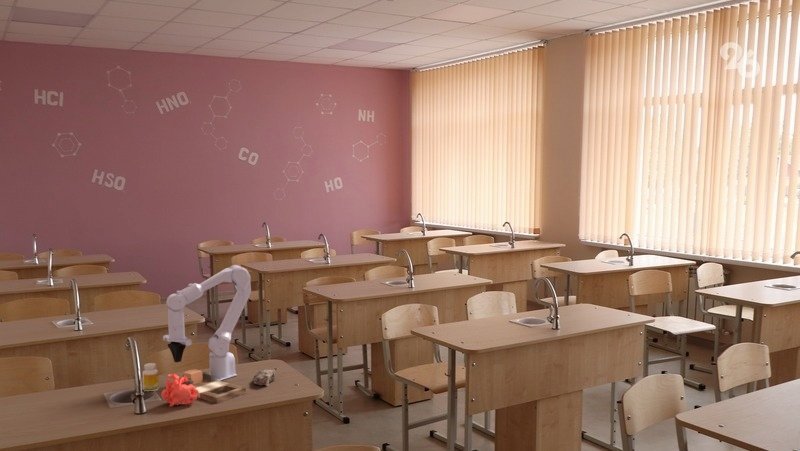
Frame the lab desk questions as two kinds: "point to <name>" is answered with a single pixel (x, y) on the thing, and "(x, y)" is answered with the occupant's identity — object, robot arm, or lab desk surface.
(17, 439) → the lab desk surface
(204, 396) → the tunnel deck
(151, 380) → the supplement bottle
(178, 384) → the anatomical heart
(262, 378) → the mineral rock
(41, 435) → the lab desk surface
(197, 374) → the terracotta block
